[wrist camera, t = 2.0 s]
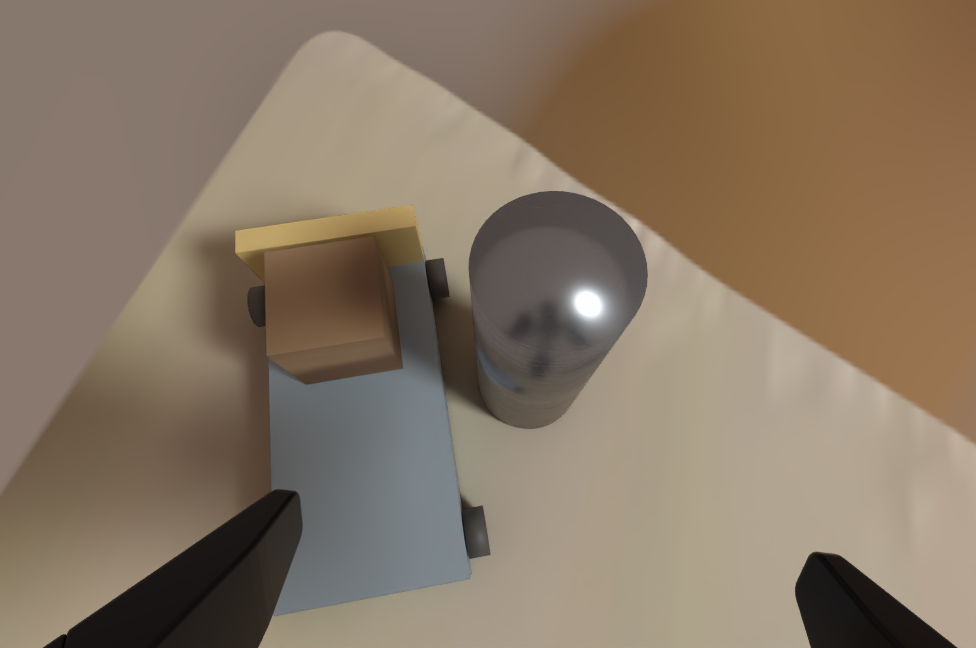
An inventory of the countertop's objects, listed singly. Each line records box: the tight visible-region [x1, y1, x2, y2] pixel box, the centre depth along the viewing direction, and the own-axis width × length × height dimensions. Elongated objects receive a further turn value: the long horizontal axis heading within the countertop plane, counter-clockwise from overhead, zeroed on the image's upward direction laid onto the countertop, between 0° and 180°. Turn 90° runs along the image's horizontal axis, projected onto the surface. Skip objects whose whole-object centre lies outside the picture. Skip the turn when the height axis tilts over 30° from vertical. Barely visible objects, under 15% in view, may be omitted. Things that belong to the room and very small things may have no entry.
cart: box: [235, 205, 490, 616], centre depth 20 cm, size 14×9×5 cm, turn 10°
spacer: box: [469, 191, 648, 429], centre depth 18 cm, size 4×4×11 cm
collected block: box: [264, 236, 403, 385], centre depth 20 cm, size 4×4×4 cm
